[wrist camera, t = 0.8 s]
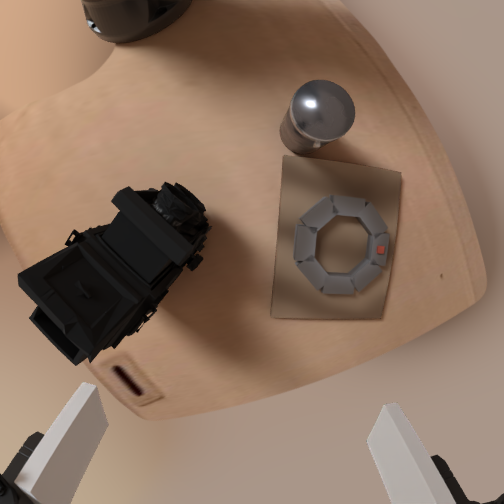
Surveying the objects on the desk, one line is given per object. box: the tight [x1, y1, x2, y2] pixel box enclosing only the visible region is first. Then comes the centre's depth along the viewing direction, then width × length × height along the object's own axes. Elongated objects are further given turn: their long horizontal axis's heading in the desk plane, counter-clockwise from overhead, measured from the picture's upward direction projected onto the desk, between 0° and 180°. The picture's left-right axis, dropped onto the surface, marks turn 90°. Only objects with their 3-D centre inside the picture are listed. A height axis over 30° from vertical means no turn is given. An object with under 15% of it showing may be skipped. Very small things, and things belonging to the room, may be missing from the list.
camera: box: [18, 182, 212, 366], centre depth 22 cm, size 10×14×20 cm
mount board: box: [270, 155, 401, 319], centre depth 30 cm, size 18×14×3 cm
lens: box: [280, 80, 355, 154], centre depth 25 cm, size 6×5×10 cm
